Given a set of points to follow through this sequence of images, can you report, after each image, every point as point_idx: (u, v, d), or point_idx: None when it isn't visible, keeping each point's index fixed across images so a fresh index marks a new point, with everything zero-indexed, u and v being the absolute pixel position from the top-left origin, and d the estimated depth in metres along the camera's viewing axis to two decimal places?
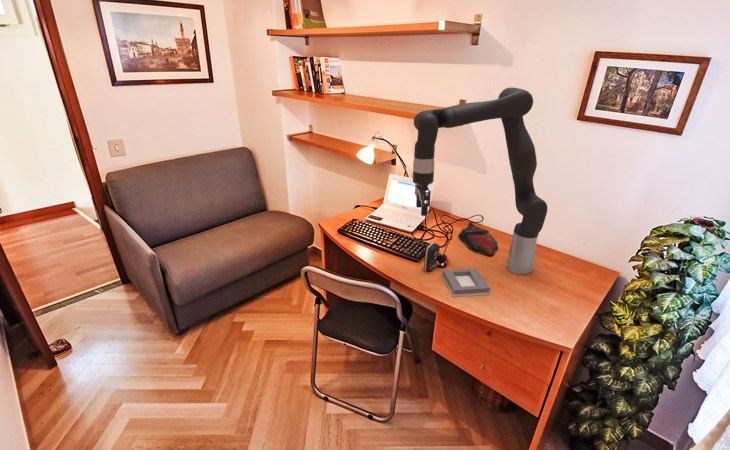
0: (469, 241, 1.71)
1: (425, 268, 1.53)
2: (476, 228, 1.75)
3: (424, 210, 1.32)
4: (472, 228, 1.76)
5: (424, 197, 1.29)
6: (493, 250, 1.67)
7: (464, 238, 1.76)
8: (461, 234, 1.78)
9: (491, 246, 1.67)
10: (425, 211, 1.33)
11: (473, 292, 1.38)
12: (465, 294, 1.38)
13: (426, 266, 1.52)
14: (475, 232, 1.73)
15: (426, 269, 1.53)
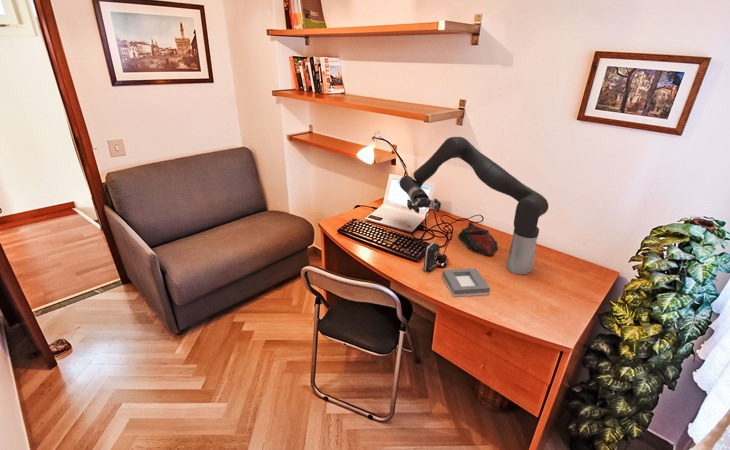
0: (469, 241, 1.71)
1: (425, 268, 1.53)
2: (476, 228, 1.75)
3: (414, 209, 1.57)
4: (472, 228, 1.76)
5: (407, 205, 1.62)
6: (492, 250, 1.66)
7: (464, 238, 1.76)
8: (461, 234, 1.78)
9: (490, 247, 1.67)
10: (414, 209, 1.56)
11: (473, 292, 1.38)
12: (465, 294, 1.38)
13: (426, 266, 1.52)
14: (475, 232, 1.73)
15: (426, 269, 1.53)
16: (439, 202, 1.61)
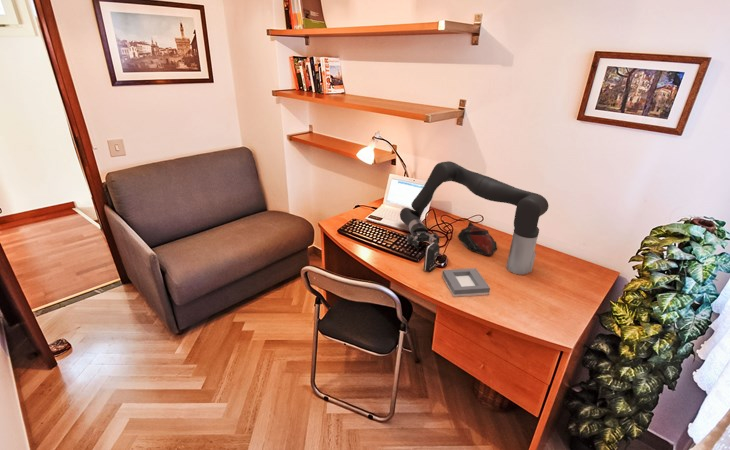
0: (468, 241, 1.71)
1: (425, 268, 1.53)
2: (475, 228, 1.75)
3: (413, 244, 1.62)
4: (471, 228, 1.76)
5: (407, 240, 1.67)
6: (492, 250, 1.66)
7: (463, 238, 1.76)
8: (460, 234, 1.78)
9: (489, 247, 1.67)
10: (414, 244, 1.61)
11: (473, 292, 1.38)
12: (465, 294, 1.38)
13: (426, 266, 1.52)
14: (474, 232, 1.73)
15: (426, 269, 1.53)
16: (438, 236, 1.65)
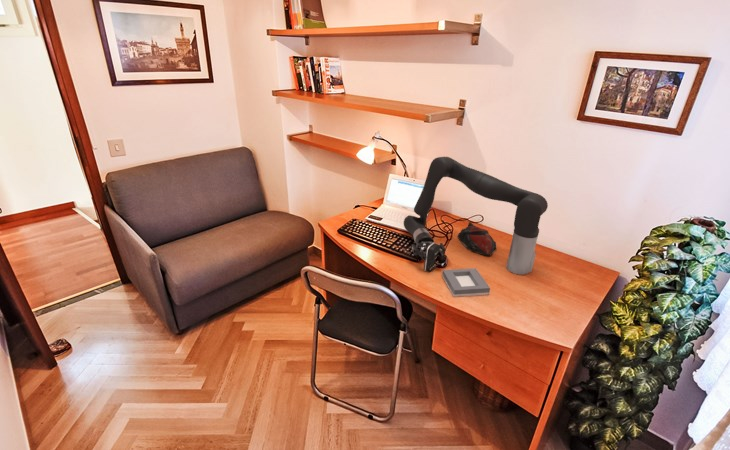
0: (468, 241, 1.71)
1: (425, 268, 1.53)
2: (475, 228, 1.75)
3: None
4: (471, 228, 1.76)
5: (413, 251, 1.57)
6: (491, 250, 1.66)
7: (463, 238, 1.76)
8: (460, 234, 1.78)
9: (489, 247, 1.67)
10: (421, 255, 1.52)
11: (473, 292, 1.38)
12: (465, 294, 1.38)
13: (426, 266, 1.52)
14: (474, 232, 1.73)
15: (426, 269, 1.53)
16: (444, 247, 1.56)
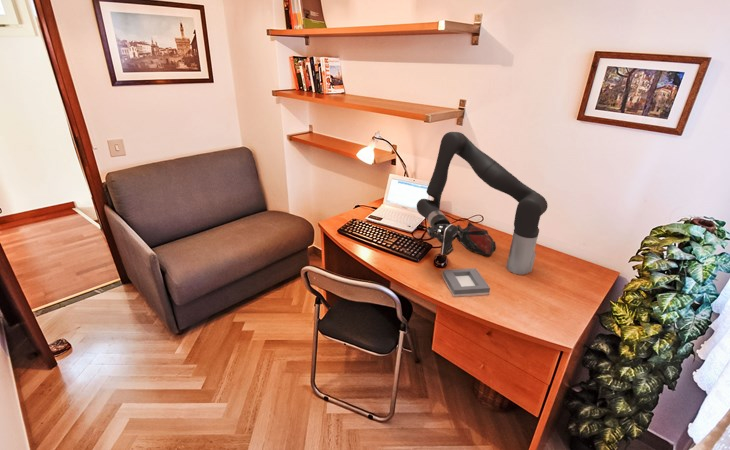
0: (467, 241, 1.71)
1: (442, 251, 1.44)
2: (475, 228, 1.74)
3: (437, 238, 1.43)
4: (471, 228, 1.76)
5: (428, 233, 1.48)
6: (490, 250, 1.66)
7: (462, 238, 1.76)
8: None
9: (488, 247, 1.67)
10: (438, 238, 1.43)
11: (473, 292, 1.38)
12: (465, 294, 1.38)
13: (443, 249, 1.43)
14: (473, 232, 1.72)
15: (443, 252, 1.44)
16: (462, 230, 1.47)
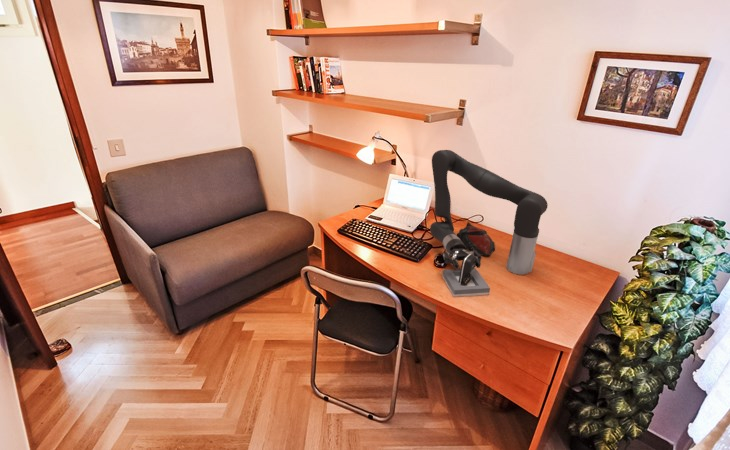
0: (466, 241, 1.71)
1: (460, 281, 1.43)
2: (474, 228, 1.74)
3: (452, 264, 1.42)
4: (470, 228, 1.76)
5: (444, 258, 1.47)
6: (490, 251, 1.66)
7: (461, 238, 1.76)
8: (459, 234, 1.78)
9: (487, 247, 1.67)
10: (453, 264, 1.42)
11: (473, 292, 1.38)
12: (465, 294, 1.38)
13: (462, 279, 1.42)
14: (472, 232, 1.72)
15: (461, 282, 1.42)
16: (479, 255, 1.46)
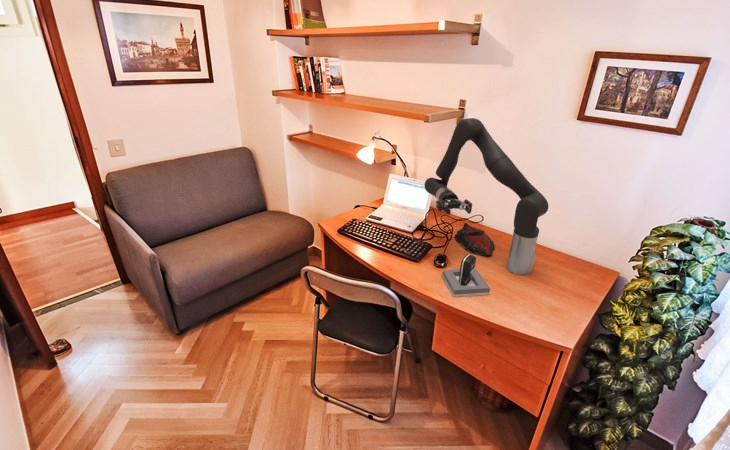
0: (467, 242, 1.70)
1: (460, 281, 1.43)
2: (472, 229, 1.74)
3: (445, 210, 1.49)
4: (468, 229, 1.75)
5: (437, 207, 1.54)
6: (491, 251, 1.66)
7: (461, 239, 1.75)
8: (457, 235, 1.77)
9: (488, 247, 1.67)
10: (445, 210, 1.48)
11: (473, 292, 1.38)
12: (465, 294, 1.38)
13: (461, 279, 1.42)
14: (472, 233, 1.72)
15: (461, 283, 1.42)
16: (470, 203, 1.52)
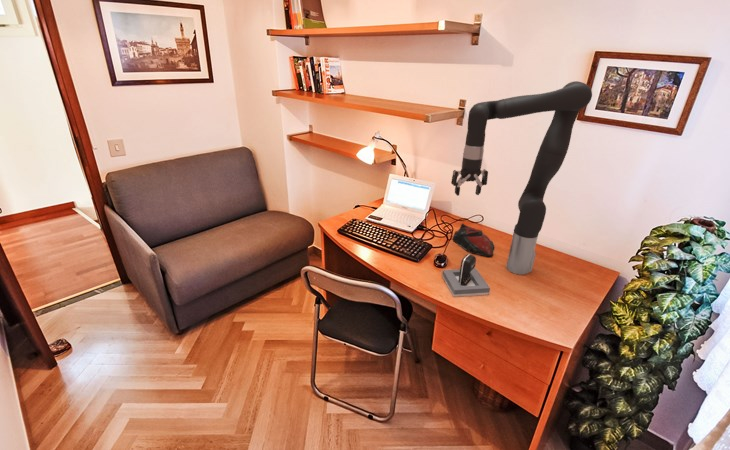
0: (467, 243, 1.69)
1: (460, 281, 1.43)
2: (471, 229, 1.73)
3: (455, 189, 1.50)
4: (467, 230, 1.75)
5: None
6: (491, 251, 1.66)
7: (460, 240, 1.74)
8: (456, 236, 1.76)
9: (489, 247, 1.66)
10: (455, 190, 1.50)
11: (473, 292, 1.38)
12: (465, 294, 1.38)
13: (461, 279, 1.42)
14: (471, 234, 1.71)
15: (461, 283, 1.42)
16: (486, 181, 1.48)
